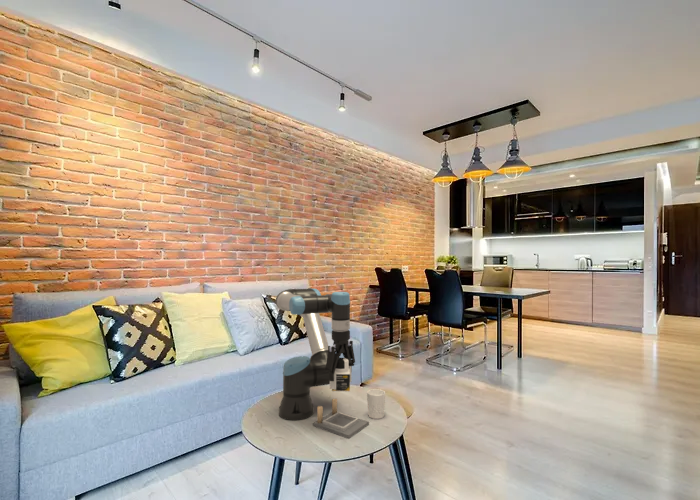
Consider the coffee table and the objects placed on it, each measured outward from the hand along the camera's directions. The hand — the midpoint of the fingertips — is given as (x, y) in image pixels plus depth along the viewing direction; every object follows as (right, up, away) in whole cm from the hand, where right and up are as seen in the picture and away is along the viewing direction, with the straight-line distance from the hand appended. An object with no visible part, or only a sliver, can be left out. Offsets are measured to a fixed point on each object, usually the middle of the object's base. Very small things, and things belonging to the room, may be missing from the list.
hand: (340, 385), depth 143 cm
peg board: (0, -16, -1) cm, 16 cm away
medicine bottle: (0, -2, 0) cm, 2 cm away
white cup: (+15, -17, +8) cm, 24 cm away
